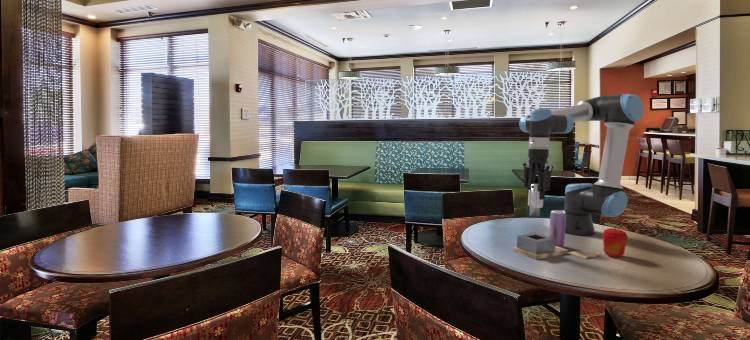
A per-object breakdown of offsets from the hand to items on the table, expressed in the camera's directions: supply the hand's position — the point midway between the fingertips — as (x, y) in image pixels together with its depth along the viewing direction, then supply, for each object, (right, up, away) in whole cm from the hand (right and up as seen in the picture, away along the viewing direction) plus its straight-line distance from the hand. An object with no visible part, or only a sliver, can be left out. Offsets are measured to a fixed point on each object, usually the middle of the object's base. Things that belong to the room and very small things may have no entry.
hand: (535, 206), depth 166 cm
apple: (+29, -19, -4) cm, 35 cm away
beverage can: (+12, -18, +8) cm, 23 cm away
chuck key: (0, -4, 0) cm, 4 cm away
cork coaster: (+17, -19, -4) cm, 26 cm away
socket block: (0, -17, -1) cm, 17 cm away
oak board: (+2, -18, 0) cm, 19 cm away
